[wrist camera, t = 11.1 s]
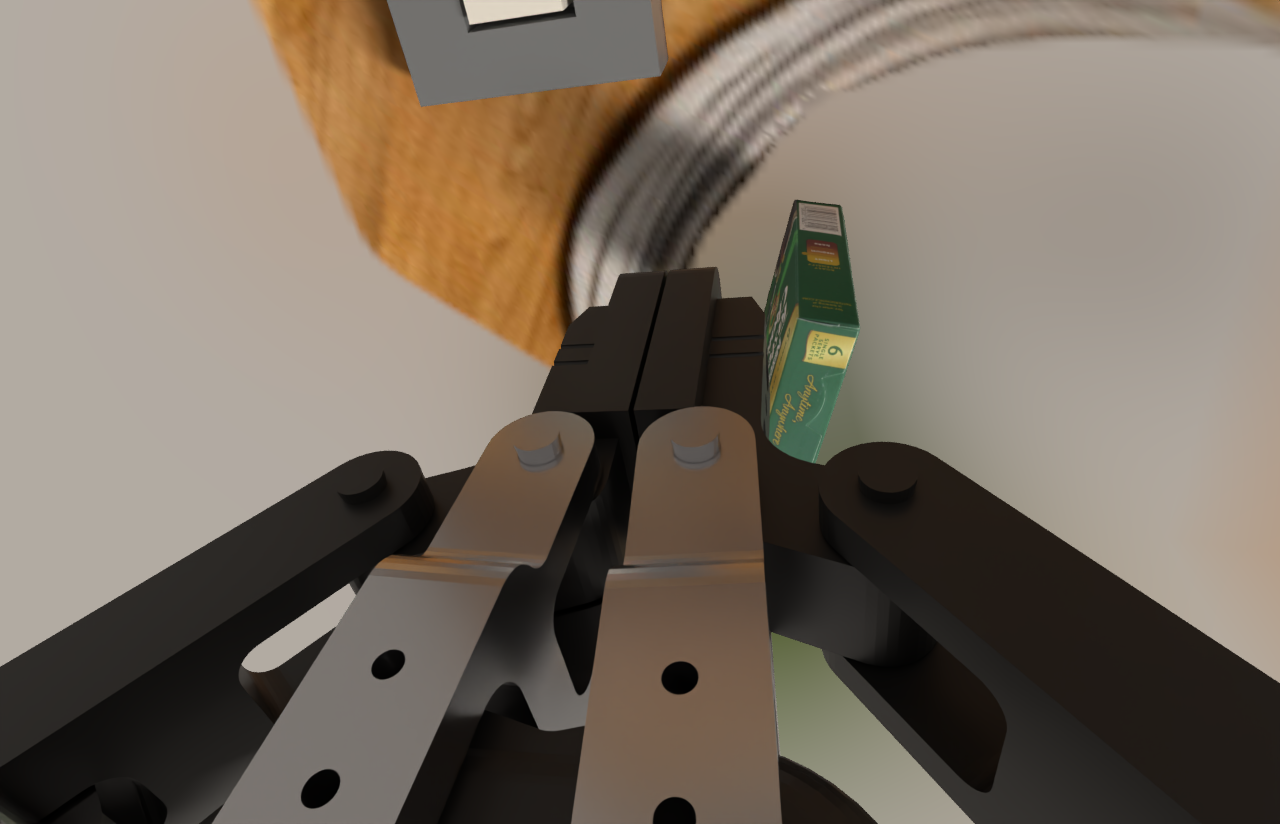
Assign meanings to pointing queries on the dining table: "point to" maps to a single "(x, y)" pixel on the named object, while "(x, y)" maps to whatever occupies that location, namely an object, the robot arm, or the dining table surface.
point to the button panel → (527, 48)
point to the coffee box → (809, 327)
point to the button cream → (510, 9)
